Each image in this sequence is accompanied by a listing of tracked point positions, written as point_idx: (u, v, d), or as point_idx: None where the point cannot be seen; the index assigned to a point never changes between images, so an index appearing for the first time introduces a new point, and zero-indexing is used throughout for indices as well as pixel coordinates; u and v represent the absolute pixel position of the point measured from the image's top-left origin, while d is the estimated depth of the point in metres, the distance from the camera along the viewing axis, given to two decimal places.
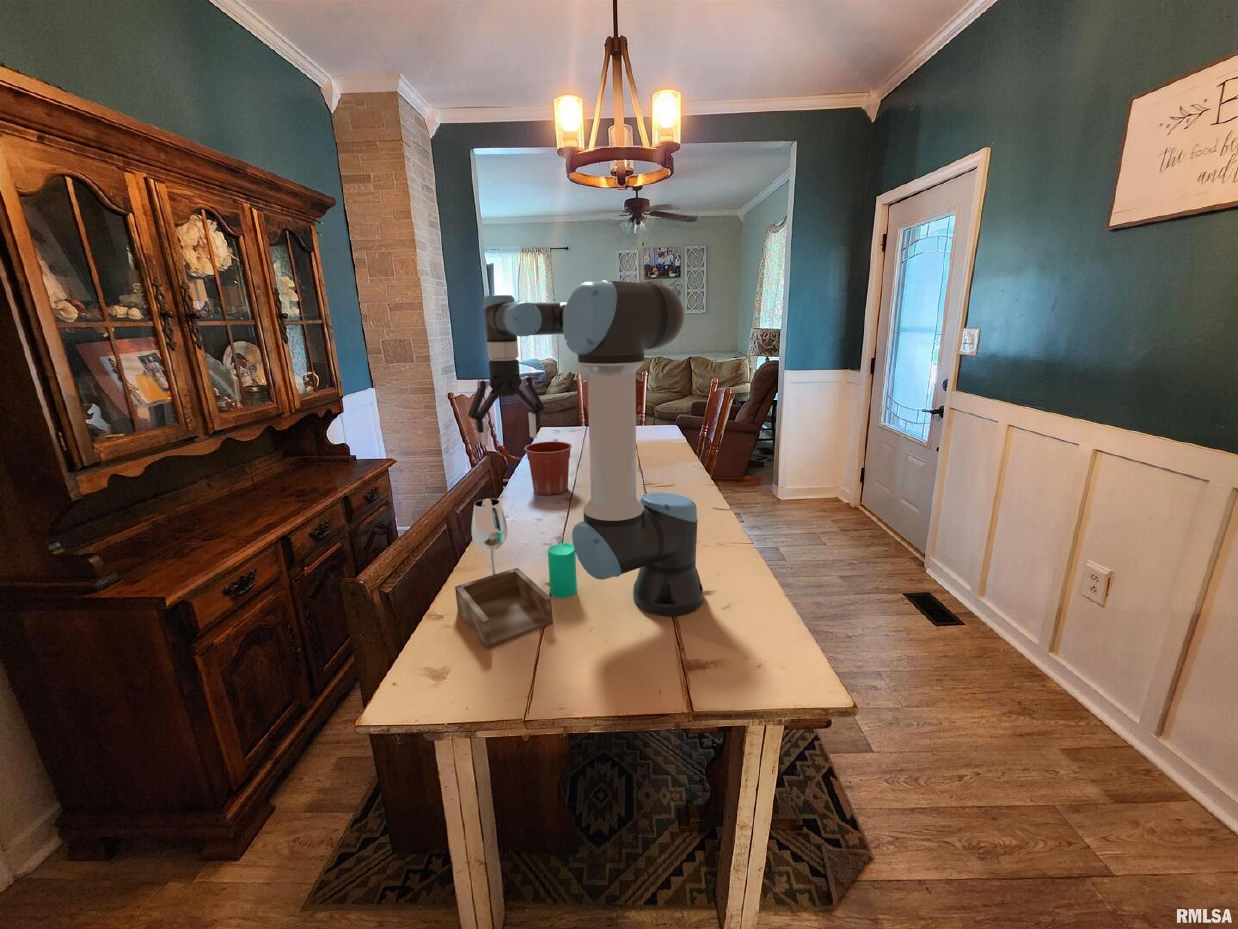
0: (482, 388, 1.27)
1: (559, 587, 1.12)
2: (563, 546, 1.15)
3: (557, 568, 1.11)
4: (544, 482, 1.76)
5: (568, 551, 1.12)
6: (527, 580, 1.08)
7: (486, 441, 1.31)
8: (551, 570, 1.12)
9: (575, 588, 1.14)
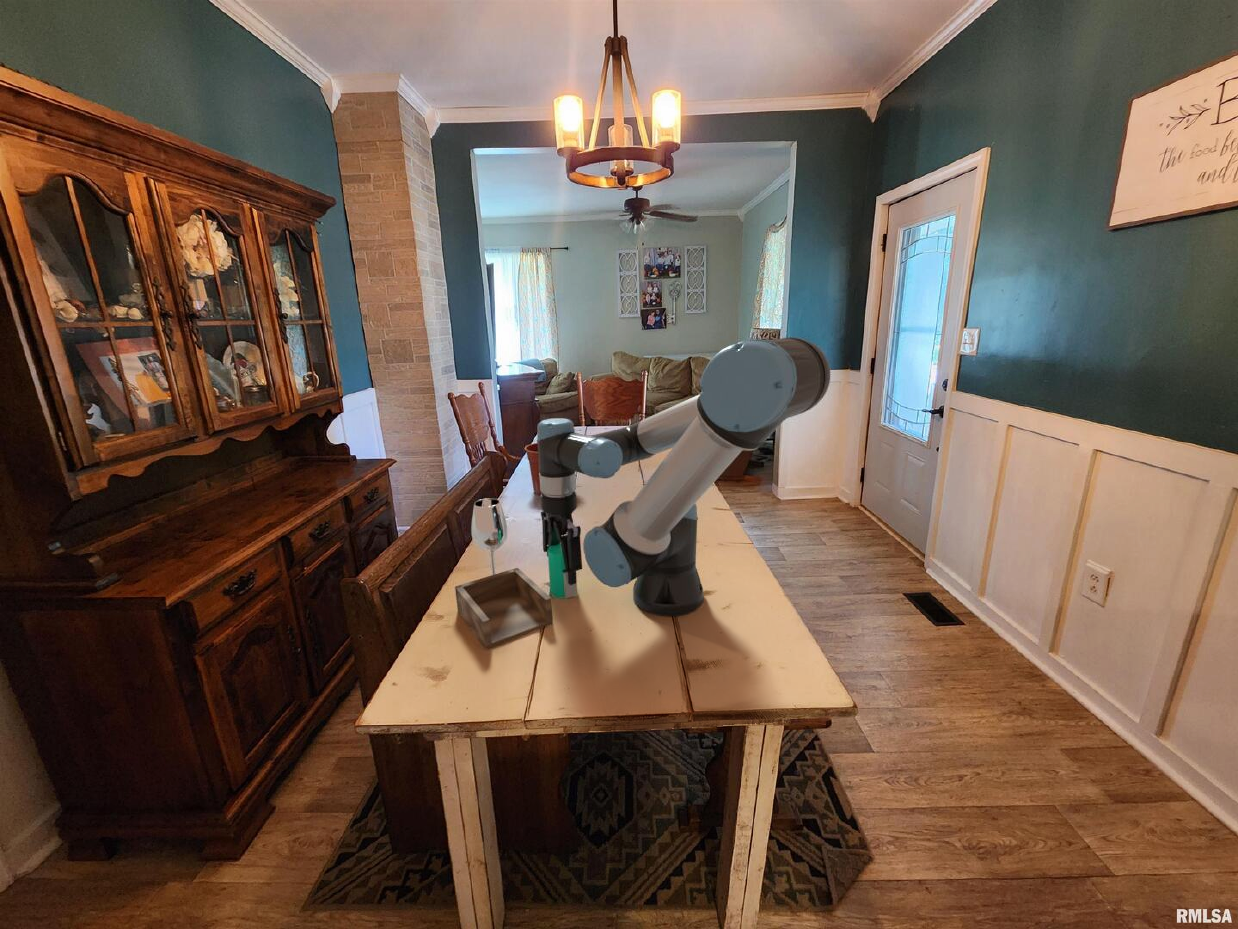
0: (542, 520, 1.15)
1: (559, 587, 1.12)
2: None
3: (557, 568, 1.11)
4: None
5: None
6: (527, 580, 1.08)
7: None
8: (551, 570, 1.12)
9: None
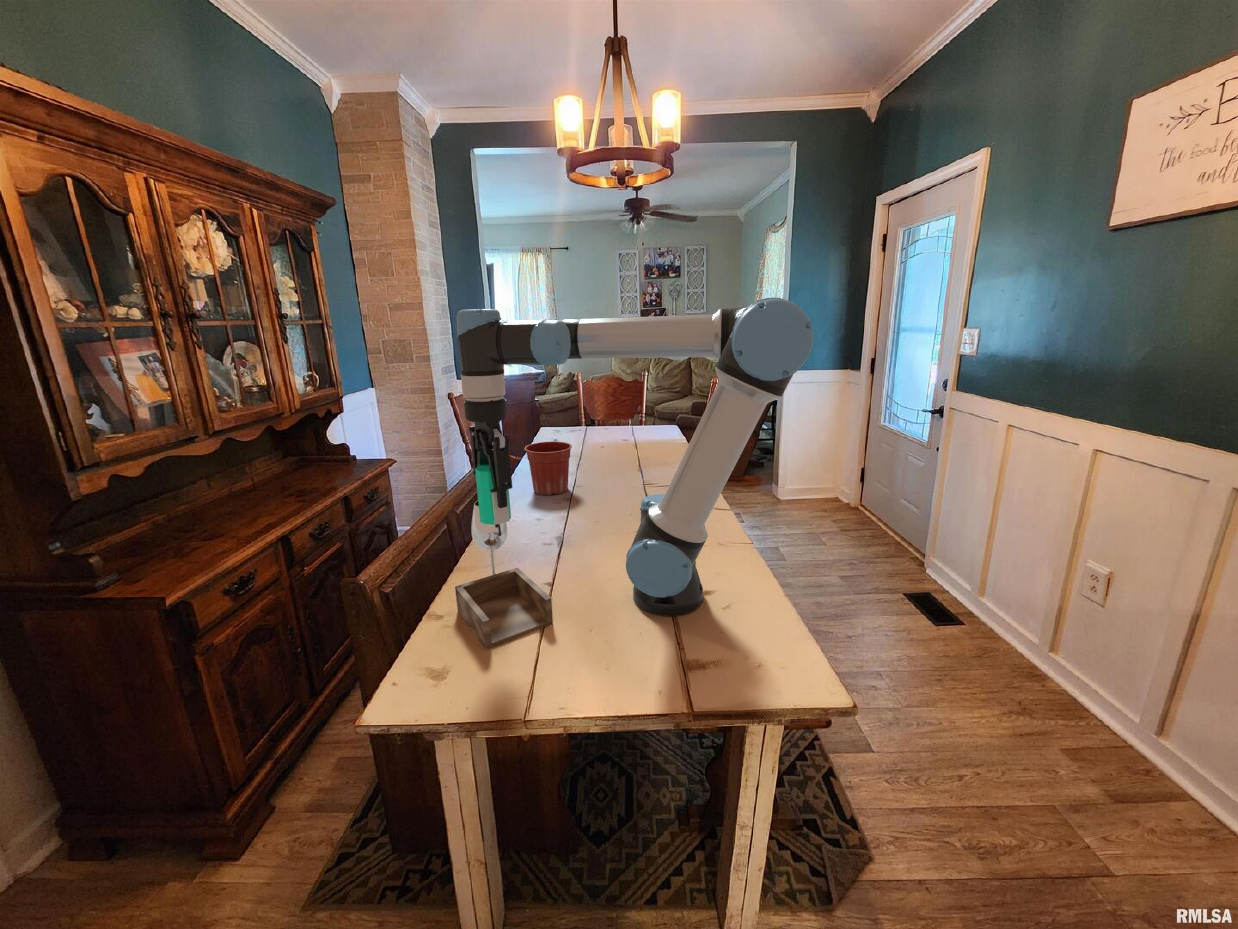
0: (471, 436, 0.99)
1: (487, 512, 0.96)
2: None
3: (484, 488, 0.95)
4: (544, 482, 1.76)
5: None
6: (527, 580, 1.08)
7: None
8: (479, 491, 0.96)
9: None
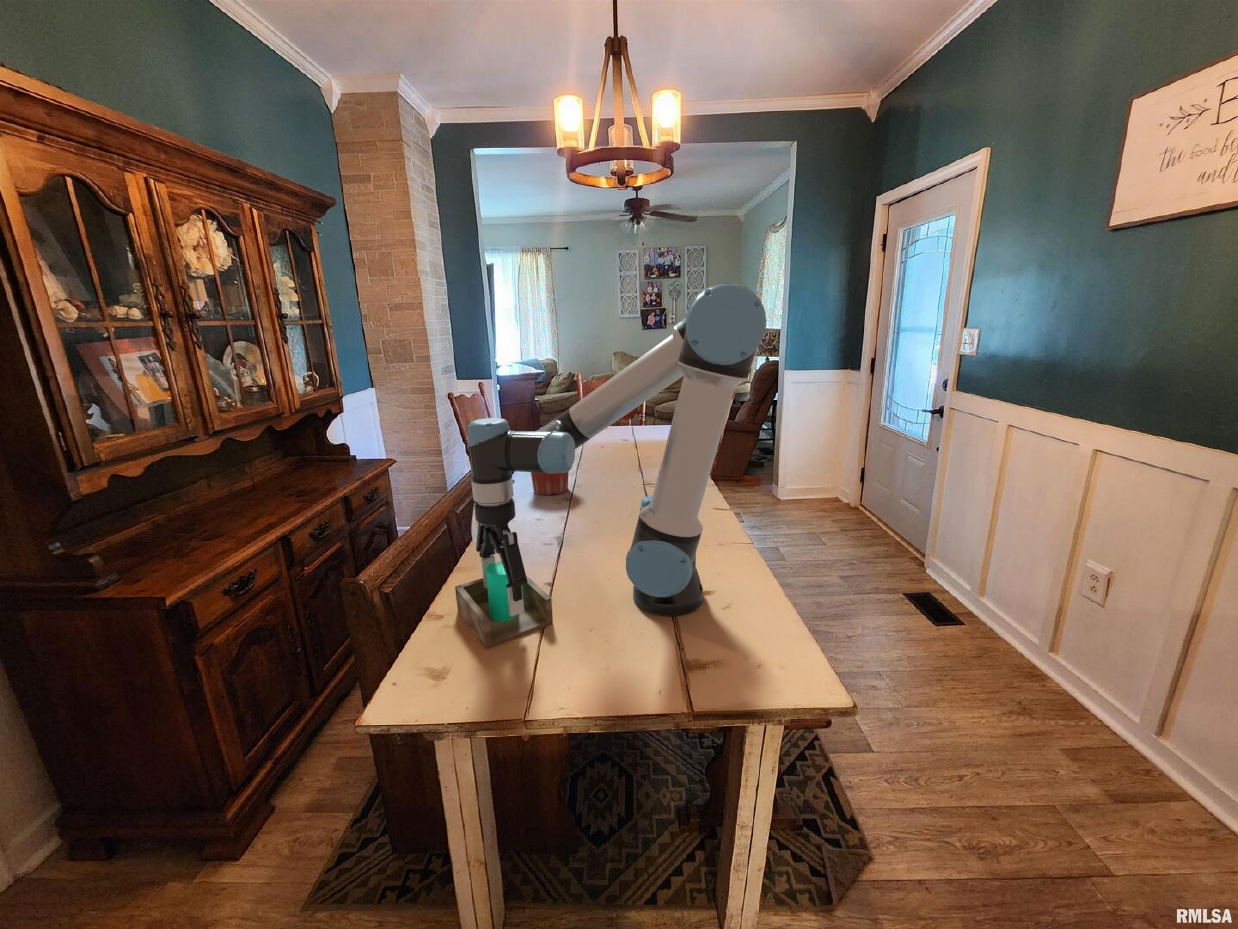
0: (478, 523, 1.05)
1: (497, 610, 1.02)
2: None
3: (495, 589, 1.01)
4: (544, 482, 1.76)
5: None
6: (527, 580, 1.08)
7: (484, 583, 1.08)
8: (489, 591, 1.02)
9: None
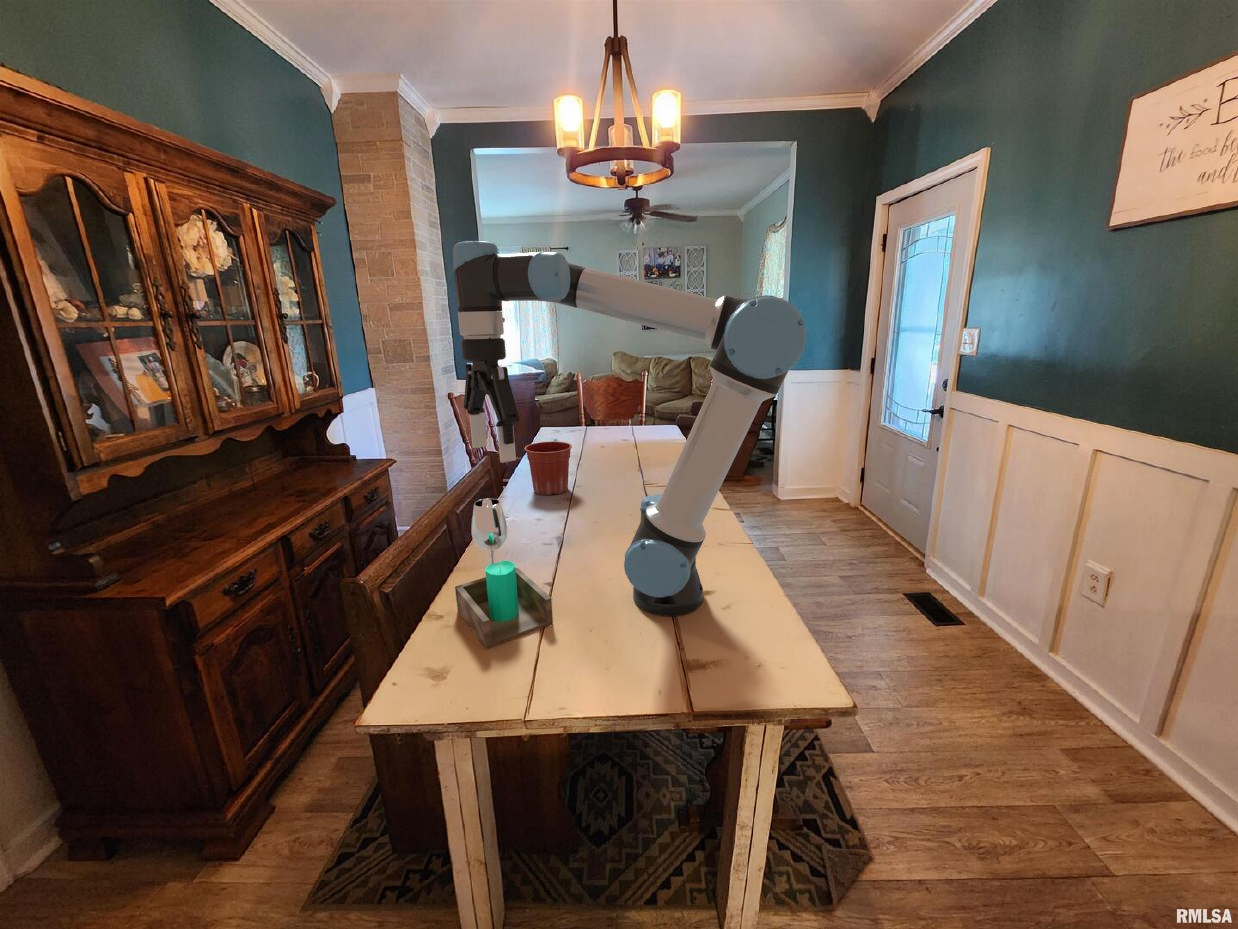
0: (466, 373, 0.97)
1: (497, 610, 1.02)
2: (503, 564, 1.05)
3: (494, 589, 1.01)
4: (544, 482, 1.76)
5: (507, 570, 1.02)
6: (527, 580, 1.08)
7: (472, 442, 1.01)
8: (489, 591, 1.02)
9: (516, 610, 1.05)
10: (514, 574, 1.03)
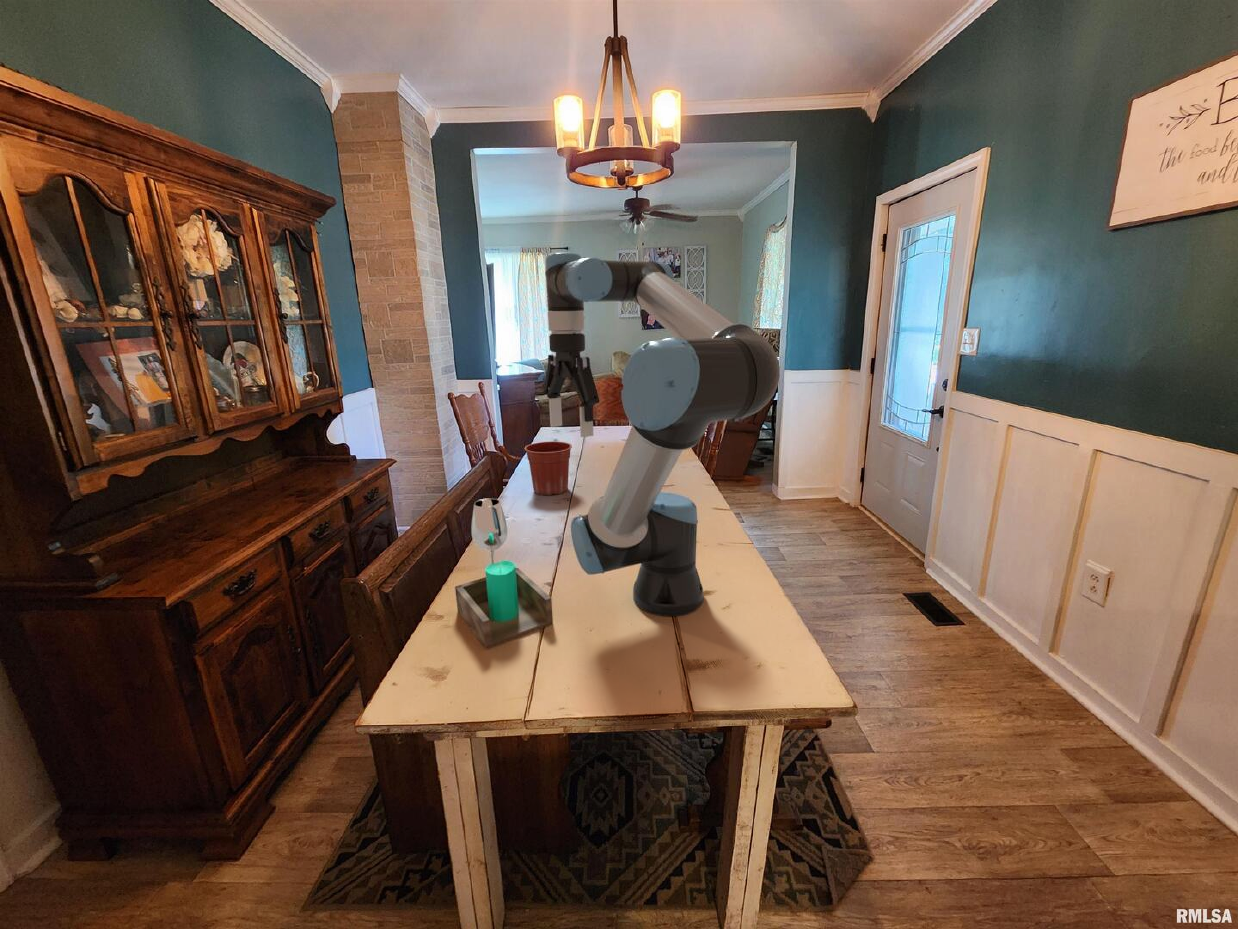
0: (548, 363, 1.15)
1: (497, 610, 1.02)
2: (503, 564, 1.05)
3: (494, 589, 1.01)
4: (544, 482, 1.76)
5: (507, 570, 1.02)
6: (527, 580, 1.08)
7: (550, 422, 1.19)
8: (489, 591, 1.02)
9: (516, 610, 1.05)
10: (514, 574, 1.03)
